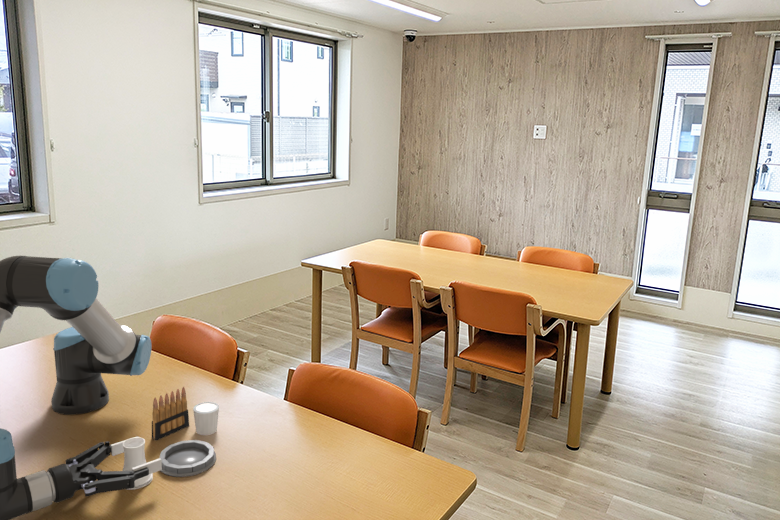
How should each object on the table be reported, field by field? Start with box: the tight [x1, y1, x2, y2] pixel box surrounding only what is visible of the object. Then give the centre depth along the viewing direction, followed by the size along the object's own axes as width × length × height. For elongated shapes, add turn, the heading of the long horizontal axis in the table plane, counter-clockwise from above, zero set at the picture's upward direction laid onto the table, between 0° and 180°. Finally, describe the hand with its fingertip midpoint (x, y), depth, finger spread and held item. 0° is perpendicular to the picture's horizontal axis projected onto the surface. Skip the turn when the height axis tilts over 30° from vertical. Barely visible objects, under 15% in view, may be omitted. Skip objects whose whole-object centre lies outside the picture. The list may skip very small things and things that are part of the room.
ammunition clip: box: [151, 386, 190, 441], centre depth 164 cm, size 11×2×12 cm, turn 145°
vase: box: [121, 436, 154, 491], centre depth 142 cm, size 8×8×10 cm
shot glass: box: [192, 401, 220, 436], centre depth 166 cm, size 7×7×7 cm
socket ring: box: [159, 439, 217, 478], centre depth 152 cm, size 14×14×2 cm
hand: (149, 452), depth 144 cm, fingers open, 12 cm apart
